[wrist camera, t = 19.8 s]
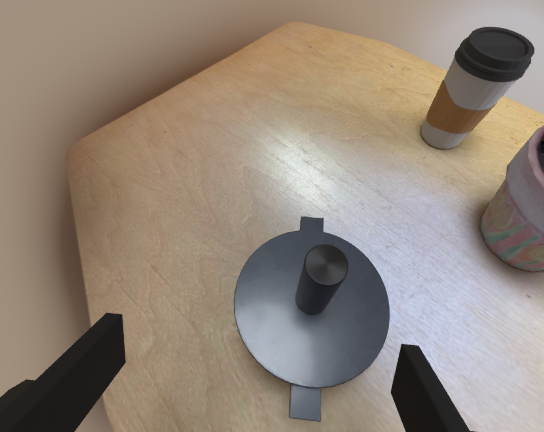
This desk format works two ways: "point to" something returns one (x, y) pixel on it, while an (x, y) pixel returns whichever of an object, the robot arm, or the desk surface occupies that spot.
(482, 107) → the coffee cup
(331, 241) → the lid
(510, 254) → the potted plant
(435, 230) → the desk surface
